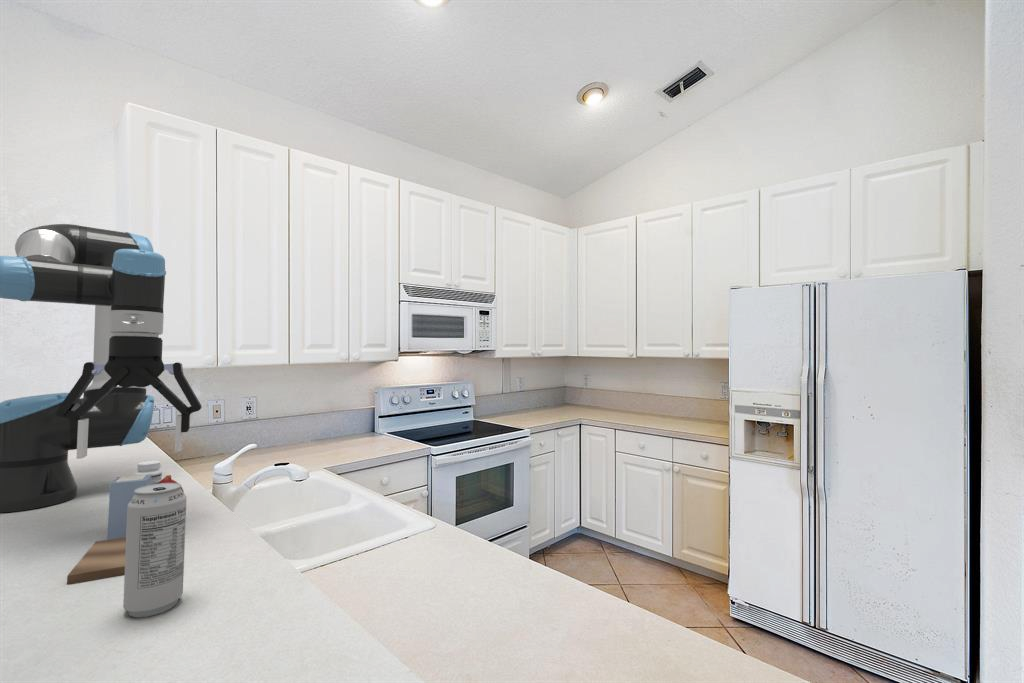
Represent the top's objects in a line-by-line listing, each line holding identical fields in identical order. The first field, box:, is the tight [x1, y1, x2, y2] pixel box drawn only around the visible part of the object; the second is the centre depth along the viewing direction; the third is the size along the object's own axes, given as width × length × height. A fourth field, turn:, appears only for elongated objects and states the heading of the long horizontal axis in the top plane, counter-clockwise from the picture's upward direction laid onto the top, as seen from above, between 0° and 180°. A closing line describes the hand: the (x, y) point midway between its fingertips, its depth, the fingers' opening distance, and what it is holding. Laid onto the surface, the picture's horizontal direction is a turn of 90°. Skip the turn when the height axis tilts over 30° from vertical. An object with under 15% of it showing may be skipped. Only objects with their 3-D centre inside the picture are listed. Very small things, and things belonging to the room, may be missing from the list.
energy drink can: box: [122, 482, 187, 618], centre depth 59 cm, size 6×6×15 cm
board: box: [66, 537, 126, 585], centre depth 73 cm, size 14×11×1 cm
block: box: [106, 474, 151, 540], centre depth 83 cm, size 5×5×10 cm
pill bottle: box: [134, 460, 163, 485], centre depth 103 cm, size 5×5×8 cm
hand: (132, 453), depth 83 cm, fingers open, 13 cm apart
